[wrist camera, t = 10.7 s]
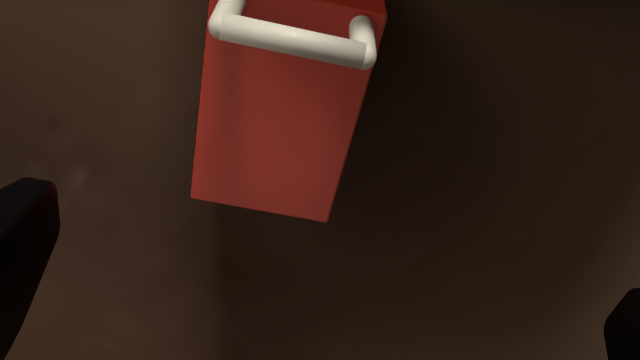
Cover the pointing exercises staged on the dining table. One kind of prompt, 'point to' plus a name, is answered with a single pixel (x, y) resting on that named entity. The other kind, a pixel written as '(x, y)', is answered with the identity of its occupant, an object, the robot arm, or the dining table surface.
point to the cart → (282, 101)
